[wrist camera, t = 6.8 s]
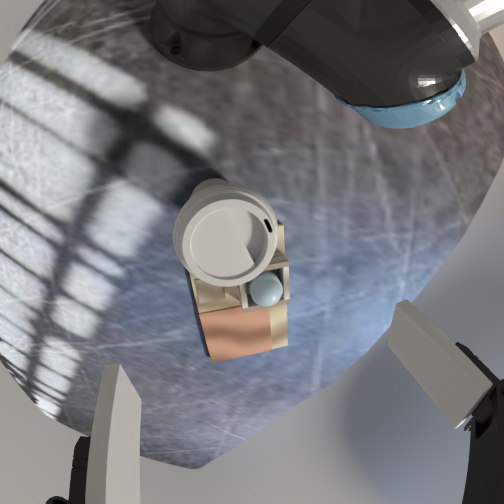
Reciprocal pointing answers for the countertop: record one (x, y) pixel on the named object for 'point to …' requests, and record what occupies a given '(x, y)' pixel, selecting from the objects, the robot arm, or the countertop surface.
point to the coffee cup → (225, 233)
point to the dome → (265, 288)
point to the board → (243, 313)
